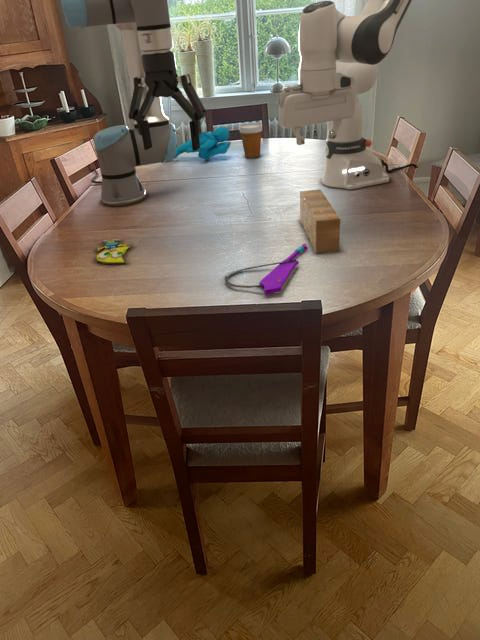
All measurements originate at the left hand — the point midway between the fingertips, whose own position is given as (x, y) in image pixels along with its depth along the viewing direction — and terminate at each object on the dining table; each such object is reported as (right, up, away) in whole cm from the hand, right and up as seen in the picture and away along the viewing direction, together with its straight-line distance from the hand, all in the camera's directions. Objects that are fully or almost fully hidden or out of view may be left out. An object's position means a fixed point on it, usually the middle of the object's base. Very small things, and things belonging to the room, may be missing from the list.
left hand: (172, 149), depth 120 cm
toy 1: (-17, -25, +10) cm, 32 cm away
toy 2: (-1, +26, +86) cm, 90 cm away
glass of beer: (+22, +26, +83) cm, 90 cm away
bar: (+38, -20, +9) cm, 44 cm away
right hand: (+37, +3, +4) cm, 37 cm away
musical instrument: (+24, -31, -6) cm, 40 cm away
